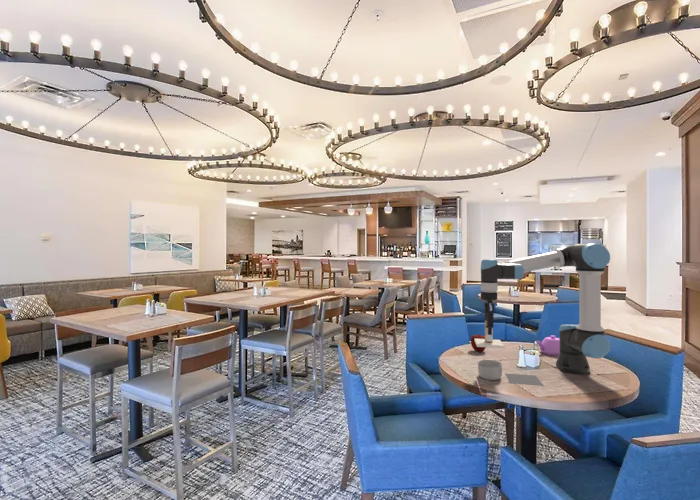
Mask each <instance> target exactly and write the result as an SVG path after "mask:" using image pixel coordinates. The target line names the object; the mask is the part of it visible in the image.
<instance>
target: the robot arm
mask: <svg viewBox="0 0 700 500" xmlns="http://www.w3.org/2000/svg"><path fill="white" fill-rule="evenodd" d="M610 261H611V254H610V251H609V250H608V249H607V247H606V246H604V245H603V244H601V243H593V242H590V243H576V244H571V245H568V246H565V247H560V248H556V249H554V250H553V251H550V252H546V253H545V252H544V253H542V254H536V255H531V256H526V257H521V258H514V259H510V260H506V261H505V260H504V261H501V262H498V259H490V258H489V259H486V258H484V259H482V260H481V261H480V284H479V287H480V300H483V301H485V302H484V303H483V304H484V305H483V307H484V322H485V321H486V320H487V326H485V325H484V329H485V328H486V341H489V342H493V339H494V310H495V304H494V303H493V301H497V300H498V289H499V288H498V280H522V278H523V277H524V273H529V272H533V271H538V270H543V269H544V270H545V269H549V268H553V267H558V268H565V267H574V268H575V272H576V273H577V274H578V275H579V285H578V286H579V297H578V298H579V300H578V301H579V310H578V311H579V314H578V315H579V323H578V324H567V323H566V324H561V325H560V326H559V329H558V333H559V337H558V338H559V340H560V353H559V356H557V358H556V361H555V368H556V369H557V370H560V371H561V372H565V373H570V374H575V375H576V374H577V375H578V374H579V375H585V374H589V373H590V372H591V368H590V367H591V366H590V364H589V361H588V358H591V359H594V360H595V359H602V358H604V357H605V356H606V355H608V353H609V352H610V349H611V341H610V340H609V339H608V338H607V336H605V328H603V327H602V326H601V319H602V318H601V317H602V316H601V315H602V312H601V311H602V310H601V301H602V300H601V295H602V294H601V293H602V291H601V290H602V289H601V284H602V283H601V277H602V275H603V274H604V273H605V271H606V270H605V267H607V266H608V264H609V263H610ZM587 357H588V358H587Z"/></svg>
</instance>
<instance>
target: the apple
mask: <svg viewBox="0 0 700 500" xmlns="http://www.w3.org/2000/svg"><path fill="white" fill-rule="evenodd" d="M474 338H475V339H485V335H481V334H473V335H471V337H470V344H471V347H472V349H473V350H474V351H475V352H479V353H482V352H484V351H485V350H486V348H487V347H477V346H476V343H475V341H474Z"/></svg>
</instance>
